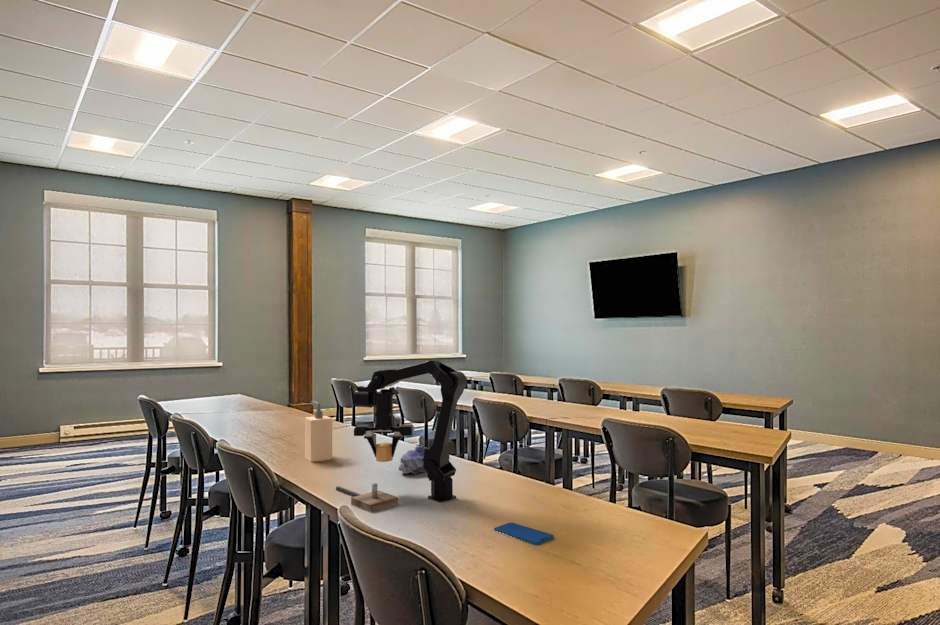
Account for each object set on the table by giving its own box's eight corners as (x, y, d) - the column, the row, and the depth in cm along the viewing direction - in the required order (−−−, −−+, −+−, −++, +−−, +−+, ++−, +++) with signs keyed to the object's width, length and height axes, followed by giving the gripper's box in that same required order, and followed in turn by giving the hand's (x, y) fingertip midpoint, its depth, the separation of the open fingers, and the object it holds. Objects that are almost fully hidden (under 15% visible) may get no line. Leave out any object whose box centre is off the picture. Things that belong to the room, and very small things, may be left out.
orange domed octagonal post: (395, 459, 186) (395, 444, 186) (382, 462, 183) (382, 446, 183) (386, 457, 190) (386, 442, 190) (373, 459, 187) (373, 444, 187)
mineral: (423, 441, 218) (437, 444, 210) (426, 466, 218) (440, 470, 210) (389, 451, 210) (402, 454, 202) (392, 477, 210) (405, 481, 202)
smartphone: (510, 521, 156) (555, 535, 145) (510, 525, 156) (555, 539, 145) (491, 528, 151) (536, 543, 140) (492, 532, 151) (536, 547, 140)
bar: (366, 500, 176) (366, 496, 176) (363, 500, 176) (363, 497, 176) (338, 489, 188) (338, 486, 188) (336, 489, 187) (336, 486, 187)
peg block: (398, 504, 172) (398, 483, 173) (370, 511, 165) (370, 490, 166) (378, 496, 180) (378, 477, 180) (351, 504, 173) (351, 484, 173)
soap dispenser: (332, 459, 229) (332, 403, 229) (310, 462, 225) (310, 405, 225) (322, 453, 240) (322, 400, 240) (302, 455, 236) (302, 401, 236)
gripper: (415, 404, 195) (416, 451, 194) (360, 404, 195) (361, 451, 195) (411, 409, 183) (411, 459, 183) (353, 410, 184) (353, 459, 184)
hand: (384, 456), depth 186 cm, fingers closed on orange domed octagonal post, 5 cm apart
